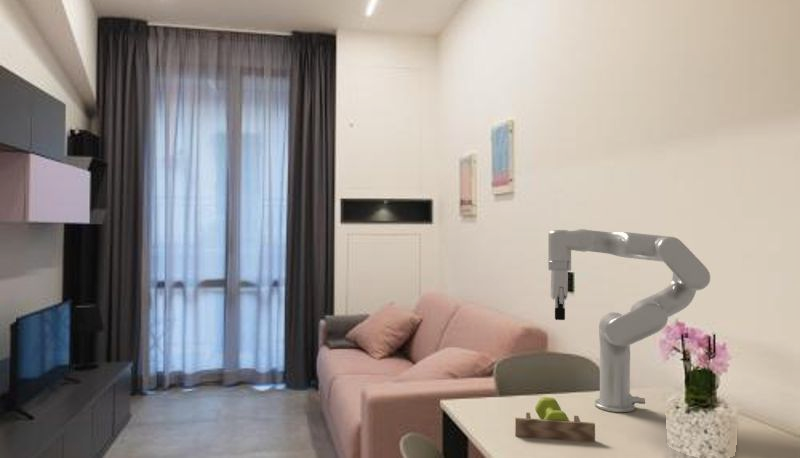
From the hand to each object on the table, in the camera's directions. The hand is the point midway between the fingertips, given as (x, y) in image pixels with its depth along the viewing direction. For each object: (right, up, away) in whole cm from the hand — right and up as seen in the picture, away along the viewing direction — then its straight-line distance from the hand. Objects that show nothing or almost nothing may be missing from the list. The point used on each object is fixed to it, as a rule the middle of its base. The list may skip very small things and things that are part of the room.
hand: (559, 319), depth 197 cm
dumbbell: (-9, -29, -23) cm, 38 cm away
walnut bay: (-9, -29, -26) cm, 40 cm away
